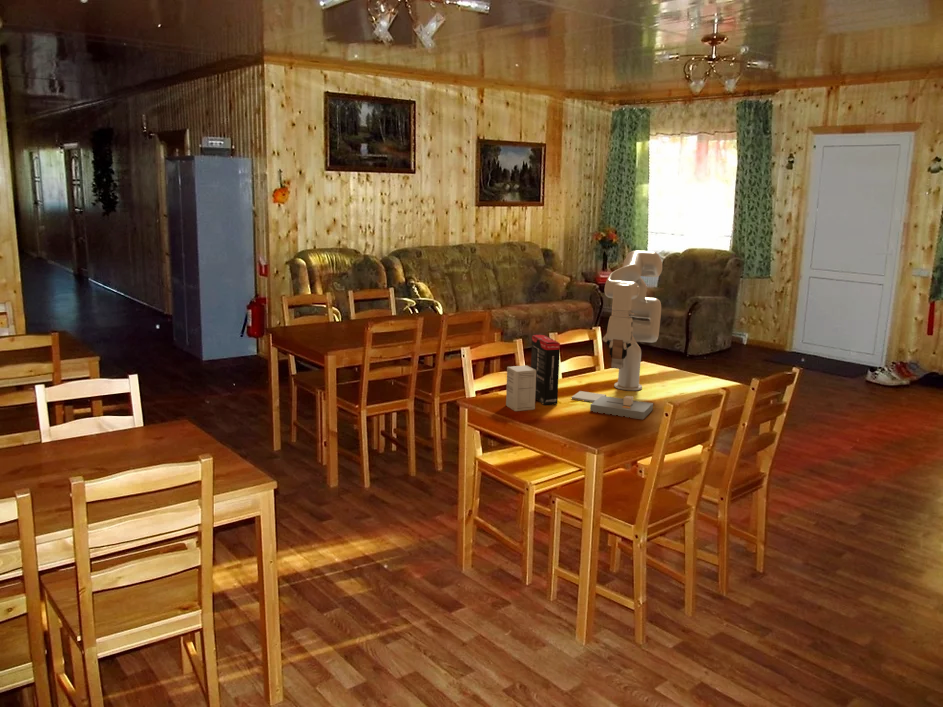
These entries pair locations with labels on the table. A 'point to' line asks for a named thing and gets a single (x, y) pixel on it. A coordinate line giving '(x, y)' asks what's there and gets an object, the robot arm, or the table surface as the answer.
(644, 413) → the switch board
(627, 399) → the switch tab
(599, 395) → the mat
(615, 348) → the block
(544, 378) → the graphics card box
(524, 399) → the supplement box
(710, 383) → the table surface
